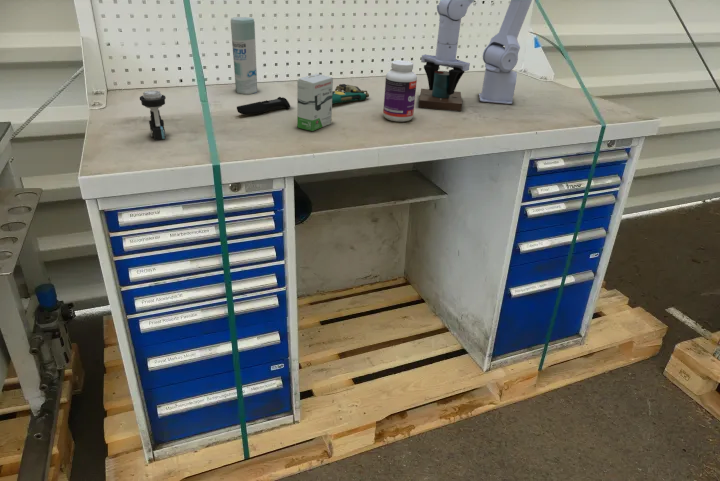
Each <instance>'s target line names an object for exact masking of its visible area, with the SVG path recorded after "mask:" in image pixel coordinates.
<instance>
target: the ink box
mask: <svg viewBox="0 0 720 481" xmlns="http://www.w3.org/2000/svg"><path fill="white" fill-rule="evenodd" d="M296 85H297V93H296V94H297V102H296V103H297V104H296V105H297V115H296V116H297V119H296V120H297V123H296V124H297V128H298V129H302V130H306V131H310V132H314V131H316V130H319V129H321V128H324V127H326V126H328V125H330V124H331V125H332V120H333V119H332V117H333V113H332V112H333V104H332V91H334V90H333V89H334V88H333V87H334V86H333V85H334V77H333V76H330V75H329V76H328V75H325V74H321V73H314V74H309V75H306V76H302V77H299V78H297V84H296Z"/></svg>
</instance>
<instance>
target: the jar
mask: <svg viewBox="0 0 720 481" xmlns="http://www.w3.org/2000/svg"><path fill="white" fill-rule="evenodd" d="M448 89H449V70H438V71H435V72H434V81H433V89H432V96H434V97H437V98H448V97H450V95H448Z"/></svg>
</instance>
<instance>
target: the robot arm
mask: <svg viewBox="0 0 720 481" xmlns="http://www.w3.org/2000/svg"><path fill="white" fill-rule="evenodd" d="M475 1H476V0H439V2H438V5H436V11H437V13H438V16H439V17H438V18H439V20H438V21H439V22H438V30H437V31H438V32H437V41H436V50H435V55H432V54H431V55H430V54H422V55H421V60H420V63H424V65H423V70H424V72H425V74H426V77H427V78H426V79H427V83H428V89H429V90H432V89H433V81H434V72H435V71H439V70H440V66H441V67H446V68H451V69H449V70H448V72H449V89H448V95H451V94H454V91H456V89H457V85H458V84H459V81H460V80H461V78H462V76H463V75H464V74H465V72H468V71H469V70H470V65H471V63H470V62H467V61H463V60H460V59H457V53H458V52H457V51H458V44H459V36H460V30H461V29H460V28H461V24H462V18H465V16H466V14H467V12H468V8H469V7H470V6H471V4H472V3H474V2H475ZM532 1H533V0H510V1H509V4H508V7H507V9H506V12H505V15H504V18H503V20H502V22H501V26H500V28H499V31H498V33H496V34H495V35H493V36H492V37H491V38H490V41H489V43H488V44H487V45H486V47H485V48H484V50H483V52H482V61H483V63H484V68H485V70H484V76H483V82H482V87H481V92H479V93H478V99H479V102H482V103H492V104H493V103H495V104H506V105H513V100H514V95H515V90H516V84H517V77H518V73H517V71H514V70H513V69H514V68H516V66H517V64H518V61H519V52H520V49H521V46H520V43H519V41H518V38H519V34H520V32H521V29H522V28H523V24H524V22H525V19H526V17H527V14H528V11H529V9H530V7H531V4H532Z"/></svg>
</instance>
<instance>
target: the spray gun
mask: <svg viewBox="0 0 720 481" xmlns="http://www.w3.org/2000/svg"><path fill="white" fill-rule="evenodd" d="M367 98H370V94H369V93H368V90H363V89H361V88H359V86H356V85H351V84H345V83H342V84H341V83H340V84H338V85H337V86H336V87H335V89H334V90H332V105H333V104H341V103H347V102H355V101H365V100H366V99H367Z"/></svg>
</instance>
